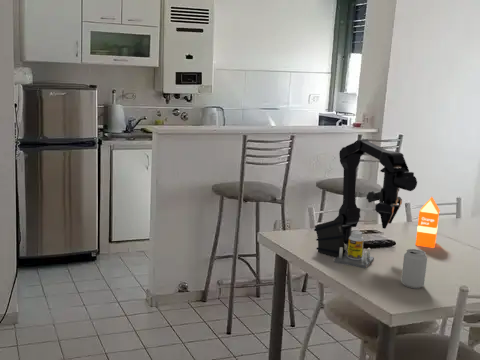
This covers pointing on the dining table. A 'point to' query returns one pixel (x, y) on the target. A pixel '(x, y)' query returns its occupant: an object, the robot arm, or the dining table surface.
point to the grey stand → (358, 263)
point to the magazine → (330, 238)
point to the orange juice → (428, 224)
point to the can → (414, 268)
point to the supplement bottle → (355, 245)
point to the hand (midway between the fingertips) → (386, 225)
